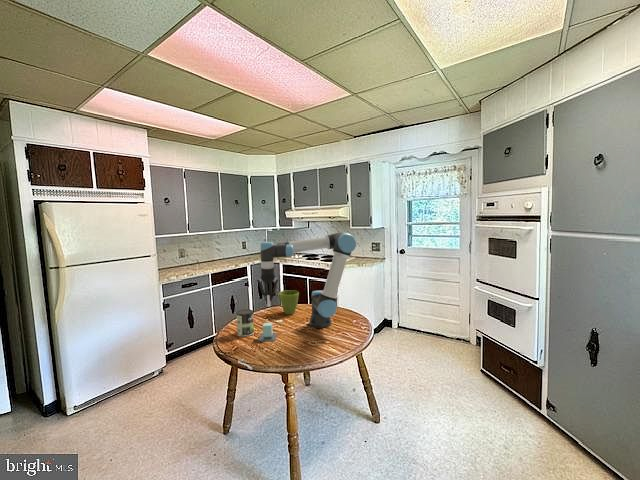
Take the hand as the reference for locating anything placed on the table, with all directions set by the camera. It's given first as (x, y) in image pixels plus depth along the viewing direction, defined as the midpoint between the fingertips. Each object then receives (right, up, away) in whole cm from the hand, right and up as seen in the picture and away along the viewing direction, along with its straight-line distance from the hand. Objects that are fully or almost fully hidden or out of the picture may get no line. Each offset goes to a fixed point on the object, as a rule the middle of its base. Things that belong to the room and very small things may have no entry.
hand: (268, 306), depth 181 cm
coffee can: (-16, -19, +8) cm, 26 cm away
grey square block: (-1, -19, +1) cm, 19 cm away
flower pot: (+8, -16, +47) cm, 50 cm away
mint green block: (-1, -18, +1) cm, 18 cm away
